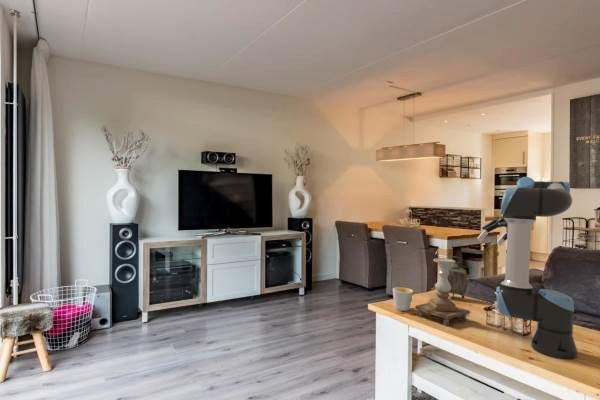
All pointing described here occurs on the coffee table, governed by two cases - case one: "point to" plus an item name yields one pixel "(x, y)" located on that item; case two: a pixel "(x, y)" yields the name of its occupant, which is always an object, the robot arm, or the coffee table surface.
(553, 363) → the coffee table surface
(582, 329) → the coffee table surface
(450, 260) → the candle holder
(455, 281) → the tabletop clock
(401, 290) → the mug
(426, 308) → the walnut stand
